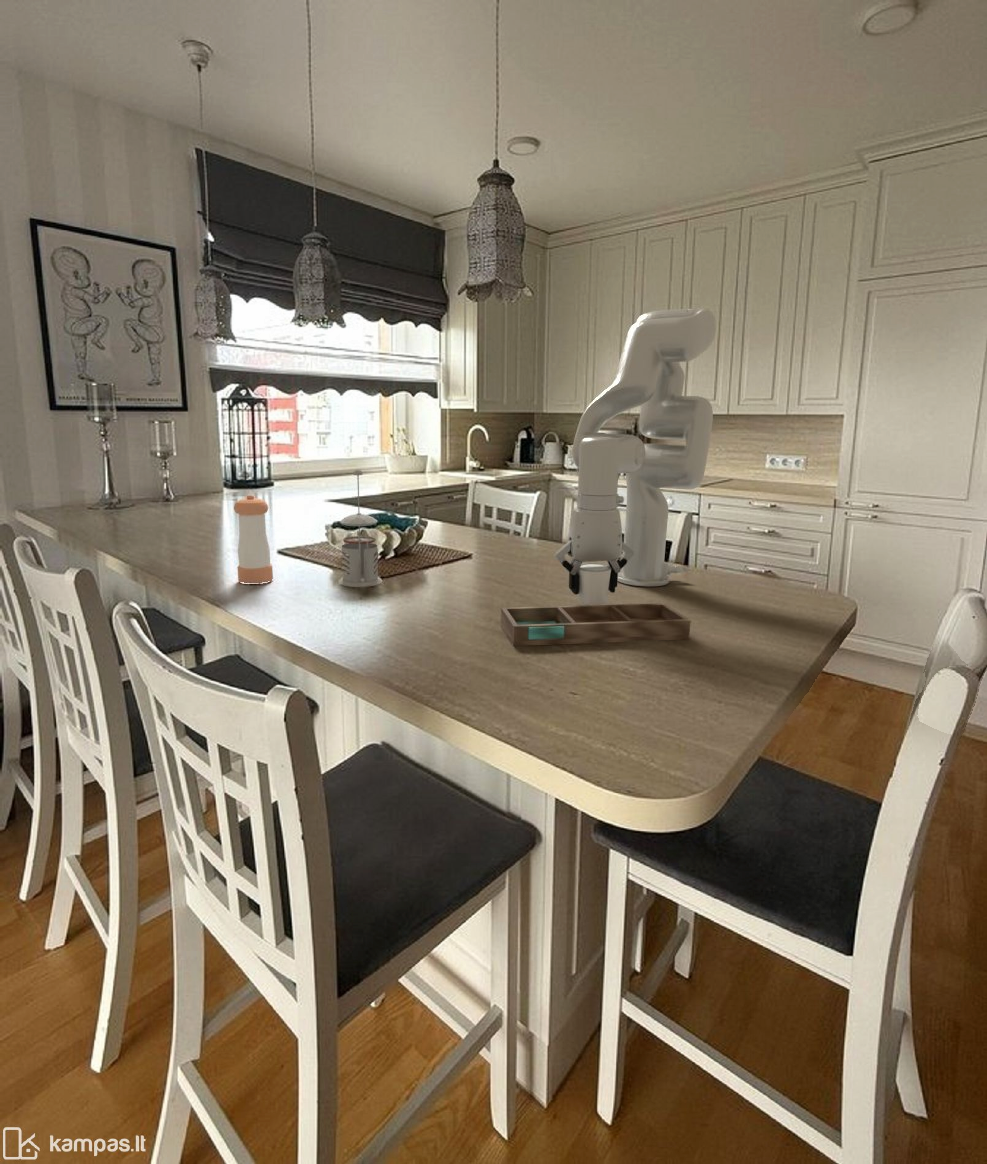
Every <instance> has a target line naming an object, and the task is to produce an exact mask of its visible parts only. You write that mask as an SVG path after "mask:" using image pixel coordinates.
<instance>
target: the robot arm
mask: <svg viewBox="0 0 987 1164" xmlns="http://www.w3.org/2000/svg"><path fill="white" fill-rule="evenodd" d="M716 332H717V321H716V317H715V315H714V313H713V312H712V311H711V310H710V309H708V308H703V307H702V308H700V307H698V308H684V309H683V308H681V309H662V310H653V311H649V312H645V313H643V314H641V315H640V316H639V317H638V318H637V319H636V322H635V323H634V324H632V325H631V326H630V328H629V329H628V332H627V334H626V338H625V339H624V344H623V346H622V351H621V353H620V354H621V355H620V357H619V360H618V365H617V368H616V371H615V376H614V379H613V382H612V384H611V385H610V386H609V387H608V388H606V389H604V391H602V392H601V393H600V394H599V395H598V396H596V398H595V399H594V400H593V401H592V402H591V403H590V404H589V405H588V406H587V407H586V408H585V410H584V412H583V413H582V415H581V417H580V420H579V422H578V425H577V429H576V432H575V436H574V439H573V445H572V449H571V450H572V452H571V455H572V457H571V458H572V461H573V463H574V465H575V466H576V467H577V468H578V474H577V475H578V480H577V498H576V499H577V502H576V508H572V511H571V515H570V519H569V525H568V534H567V540H566V541H567V542H566V543H565V544H564V545H563V546H562V547H560V548H559V549H558V550H557V551H556V552H555V553H554V554H553V555H554V557H555V559H556V560H557V561H558V562H559V563H560V564H561V565H562V566H563V568H564V569H566V571H567V572H569V573H568V588H569V589H570V591H571V592H572V593H573V595H578V594H579V575H578V570H579V568H580V566H581V564H583V563H585V562H586V563H590V562H591V563H593V562H607V564H608V566H610V567H611V574H610V581H609V588H608V592H610V593H612V594H613V593H614V594H615V592H616V588H618V583H621V584H624V585H630V586H636V587H637V586H638V587H662V586H666V585H667V584H669V583H670V577H669V575H671V574H683V572H684V566H683V565H682V564H679V565H678V564H676V565H675V564H673V563H668V562H666V561H665V553H666V542H667V532H668V520H669V504H668V501H667V498H666V497H665V495H664V494H663V492H662V490H661V489H664V488H665V489H676V490H694V489H697V488H698V487H699V486H700V485H701V484H702V481H703V479H704V476H705V471H706V467H707V461H708V455H709V447H710V442H711V436H712V430H713V421H714V419H713V418H714V413H713V406H712V404H711V402H710V400H709V399H707V398H706V397H703V396H699V395H683V392H684V391H683V390H684V383H685V378H686V377H685V371H684V369H683V368H682V366H681V364H680V363H685V362H690V361H693V360H695V359H697V358H698V357H699V356H700V355H702V354H703V353H704V352H706V351H707V350H708V349H709V348H710V347H711V345H712V343H713V341H714V339H715V336H716ZM639 406H640V411H639V413H640V414H639V423H638V426H639V427H638V428H639V431H640V433H641V435H643V436H644V437H646V438H649V439H653V440H654V439H657V440H670V441H671V440H674V441H675V440H677V441H685V445H684V444H683V445H681V444H678V445H677V444H667V443H665V444H664V443H644V441H642V439H641V438H639V436H637V435H632V434H625V433H624V434H623V433H622V434H621V433H620V434H619V433H618V434H617V433H606V432H605V433H603V432H602V433H600V432H599V431H600V430H601V428H602V427H603V426H604V425H605V423H607V422H608V421H609V420H611V419H613V418H614V417H616V416H618V415H620V414H622V413H625V412H627V411H629V410H632V409H634V408H637V407H639ZM619 474H625V480H626V481H625V482H626V508H625V518H624V519H625V521H624V522H625V523H624V534H623V529H622V520H621V519H622V518H621V511H620V509H618V505H620V504H623V503H624V502H625V497H624V496H621V495H619V494H618V487H619ZM565 555H567V556H569V557H571V559H570V562H569V561H568V560H567V559H566V557H565Z"/></svg>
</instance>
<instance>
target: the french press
mask: <svg viewBox="0 0 987 1164" xmlns="http://www.w3.org/2000/svg"><path fill="white" fill-rule="evenodd" d="M353 476H357V477H356V479H357V508H358V510H357V513H355V514H350V515H347V516H346V517H343V519H341V520H340V521H339V522H340V524H341V525H342V526H347V527H358V530H356V531H357V533H356V536H355V535H353V536H346V537H344V538H343V539H342V540H343V542H344V543H345V544H343V545H341V553H342V555H341V559H342V560H341V563H342V566H341V568H342V572H341V573H342V577H341V578H340V579H339V580H338V582H339V583H338V584H339V585H341V586H345V587H351V588H359V587H360V588H363V587H373V586H377V585H379V584H382V583H383V579H382V578H381V577H379V569H378V568H379V564H378V545H377V544H376V543H374V542H376V539H377V538H375V537H373V536H368V532H367V529H366V530H364V534H363V535H361V527H367V526H368V527H370V526H373V525H376V524H377V523H378V520H377V518H374V517H373V516H370V515H368V514H364V513H360V482H359V476H363V472H362V470H360V469H354V471H353ZM346 555H347V556H346ZM345 566H347V567H345Z"/></svg>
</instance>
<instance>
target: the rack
mask: <svg viewBox="0 0 987 1164" xmlns="http://www.w3.org/2000/svg"><path fill="white" fill-rule="evenodd" d="M500 611H501V612H500V627H501V628H502V630H503V631H504V633H505V635H506V637H507V636H508V637H507V638H508V640H509V641H510V643H511V645H512V644H513V645H512V646H513V647H519V646H546V645H570V644H573V645H574V644H599V643H620V642H621V643H625V642H628V643H629V642H643V641H644V642H645V641H647V642H650V641H651V642H652V641H669V640H670V641H675V640H689V639H690V631H691V619H689V618H687V617H686V616H684V615H683V614H681V613H680V612H679V611H676V610H675V609H674V608H672V607H671V606H669V605H667V604H666V603H664V602H658V603H657V602H656V603H629V604H627V603H625V604H624V603H623V604H601V605H588V604H583V605H553V606H548V605H547V606H519V607H518V606H517V607H515V606H513V607H501V608H500Z"/></svg>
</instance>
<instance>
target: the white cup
mask: <svg viewBox="0 0 987 1164" xmlns="http://www.w3.org/2000/svg"><path fill="white" fill-rule="evenodd" d="M610 574H611V567H610V566H609V564H608V565H607V564H603V563H602V564H601V563H595V562H594V563H593V562H591V563H590V562H586V563H582V564H581V566H580V568H579V570H578V575H579V594H577V599H578V600H577V601H578V602H579V603H581V604H583V605H605V604H606V603H607V600H608V592H609V590H608V588H609V581H610Z"/></svg>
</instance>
